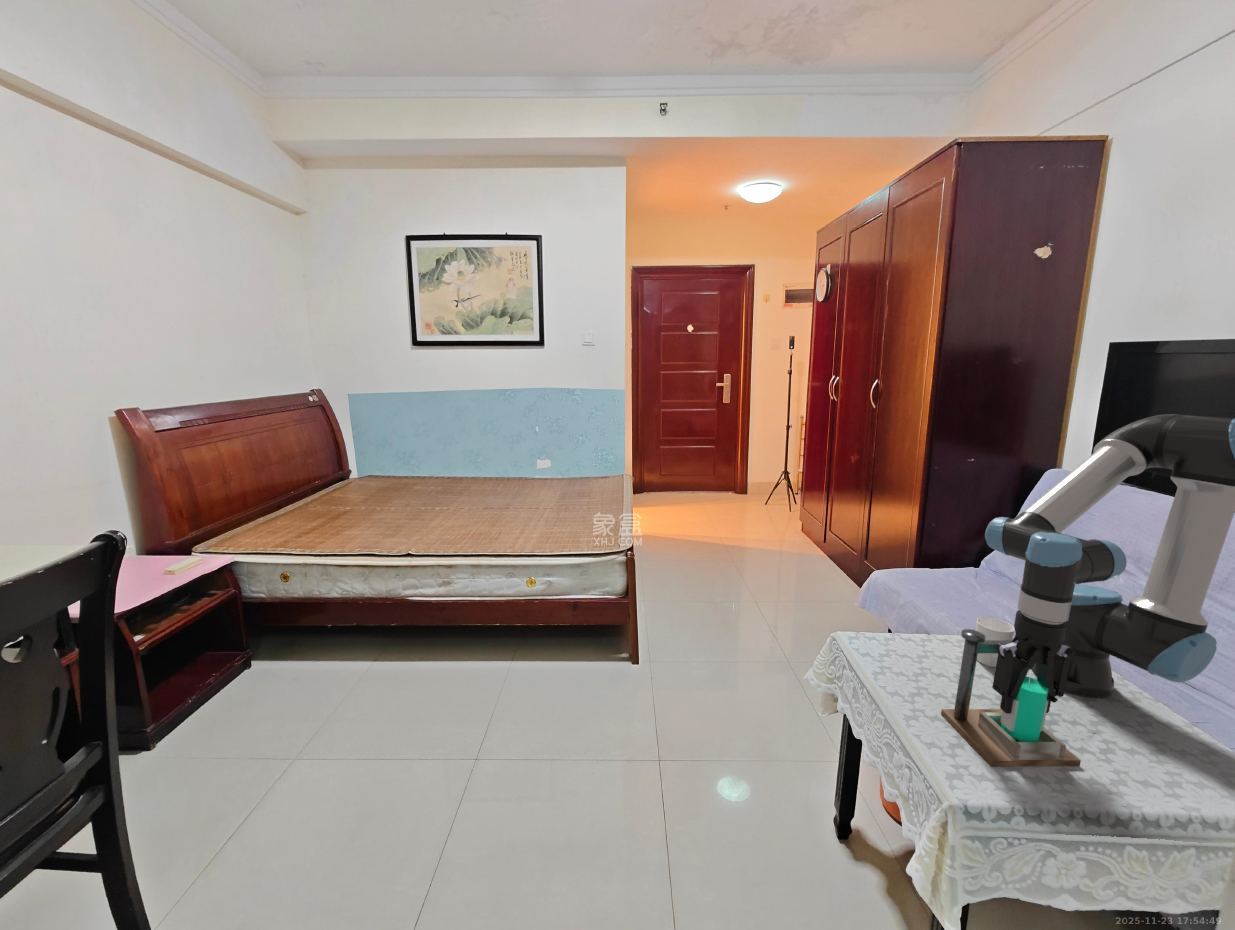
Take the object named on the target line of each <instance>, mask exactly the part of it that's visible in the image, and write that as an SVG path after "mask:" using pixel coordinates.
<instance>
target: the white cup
mask: <svg viewBox="0 0 1235 930" xmlns="http://www.w3.org/2000/svg"><path fill="white" fill-rule="evenodd" d="M975 631H978V632H980V633H982V634H984V635H985V640H1006V641H1012V640H1013V638H1014V637H1015V633H1016V632H1015V629H1014V625H1012V624H1011V623H1009V622H1008V621H1005V620H1002V619H999V618H995V617H994V618H993V617H990V616H989V617H988V616H985V617H984V616H982V617H978V618H976V625H975ZM997 658H998V653H978V655H977V661H978V662H979V663H981V664H982V665H985V666H986V667H987V666H988V667H991V668H996V664H997ZM977 661H976V662H977Z"/></svg>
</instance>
